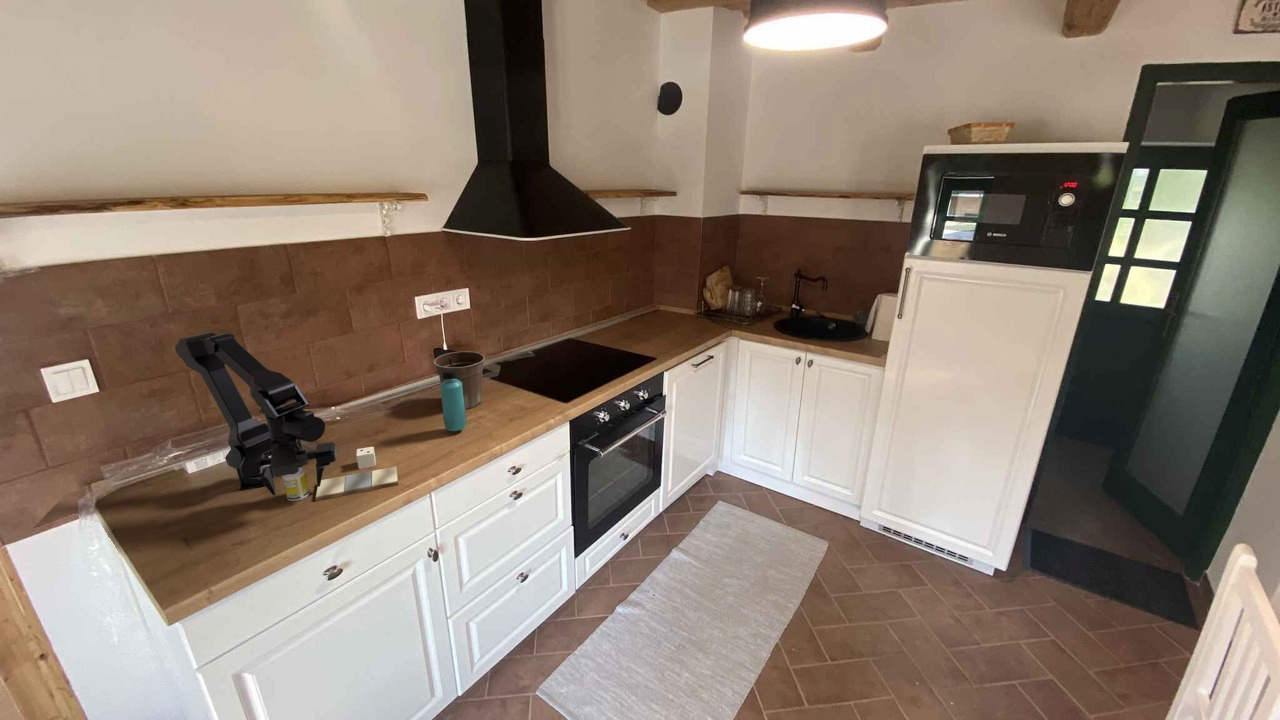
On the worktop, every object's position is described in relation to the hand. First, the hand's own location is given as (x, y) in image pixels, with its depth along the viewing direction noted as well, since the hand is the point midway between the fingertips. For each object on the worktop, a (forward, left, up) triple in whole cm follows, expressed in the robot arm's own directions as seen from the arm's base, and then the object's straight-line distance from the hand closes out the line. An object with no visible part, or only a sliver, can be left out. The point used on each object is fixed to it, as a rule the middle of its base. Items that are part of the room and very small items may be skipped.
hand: (297, 490), depth 126 cm
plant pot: (+44, +42, -2) cm, 61 cm away
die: (+15, +10, -2) cm, 18 cm away
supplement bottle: (0, 0, -2) cm, 2 cm away
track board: (+13, 0, -2) cm, 13 cm away
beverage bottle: (+39, +21, -2) cm, 44 cm away
